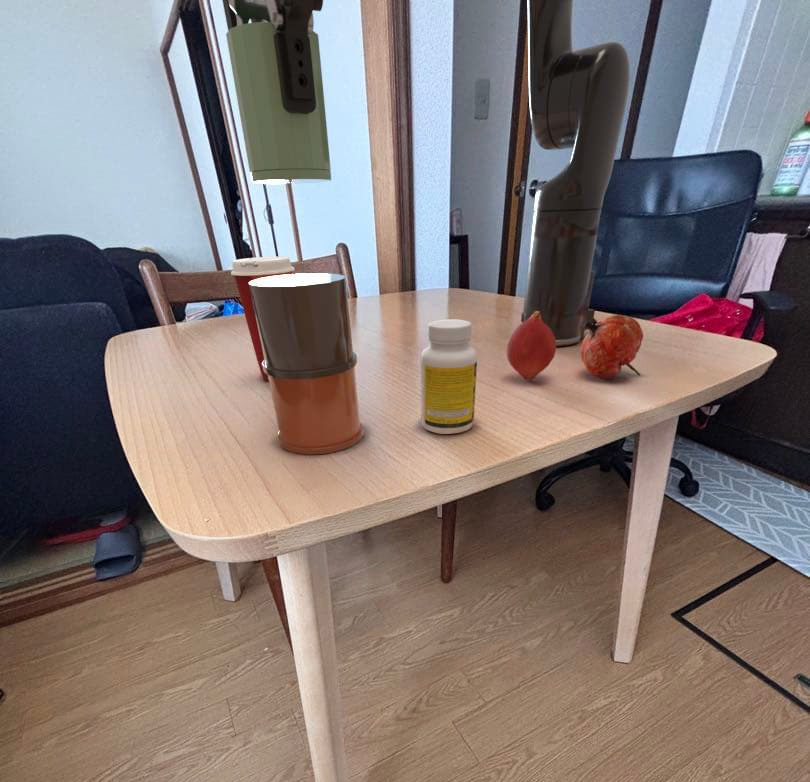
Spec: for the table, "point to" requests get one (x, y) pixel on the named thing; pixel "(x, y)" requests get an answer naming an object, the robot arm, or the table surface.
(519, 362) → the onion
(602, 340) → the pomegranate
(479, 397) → the table surface
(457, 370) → the supplement bottle
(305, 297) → the cup stack
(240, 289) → the paper cup
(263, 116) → the green cup
